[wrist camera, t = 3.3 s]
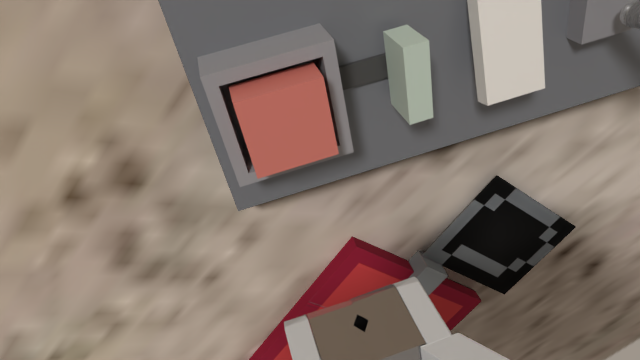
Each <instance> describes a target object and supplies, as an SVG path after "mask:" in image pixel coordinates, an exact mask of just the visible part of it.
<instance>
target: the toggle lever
mask: <svg viewBox="0 0 640 360" xmlns="http://www.w3.org/2000/svg"><path fill="white" fill-rule="evenodd" d="M620 20H621V22H622V23H623V24H624V25H625V26H628V27H632V28H637V29H640V1H633V2H630V3H628V4H626V5H625V6H624V7H623V8H622V10H621V12H620Z"/></svg>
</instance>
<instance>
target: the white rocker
mask: <svg viewBox="0 0 640 360" xmlns="http://www.w3.org/2000/svg"><path fill="white" fill-rule="evenodd" d="M467 3H468V13H469V22H470V32H471V41H472V51H473V60H474V69H475V79H476V88H477V98H478V102H480V103H482V104H485V105H487V106H489V105H492V104H495V103H498V102H502V101H505V100H508V99H511V98H515V97H518V96H521V95H525V94H528V93H531V92H534V91H538V90H541V89H544V88H545V74H544V52H543V30H542V8H541V0H467Z"/></svg>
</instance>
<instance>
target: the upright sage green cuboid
mask: <svg viewBox="0 0 640 360" xmlns="http://www.w3.org/2000/svg"><path fill="white" fill-rule="evenodd" d="M383 36H384V45H385V53H386V62H387V71H388V80H389V89H390V98H391V104H392V105H393V106H394V108H395V109H396V110H397V111H398V112H399V113H400V114H401V115H402V117H403V118H404V119H405V120H406V121H407V122H408V123H409V125H411V124H414V123H418V122H421V121H424V120H427V119H431V118H433V102H432V84H431V66H430V48H429V40H428V39H427V38H425V37H424V36H422V35H421V34H420V33H418V32H417V31H415V30H414V29H413V28H411V27H410V26H408V25H404V26H400V27H397V28H393V29H389V30H386V31H383Z"/></svg>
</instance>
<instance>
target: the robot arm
mask: <svg viewBox="0 0 640 360" xmlns="http://www.w3.org/2000/svg"><path fill="white" fill-rule="evenodd" d="M307 316H308V318H307ZM308 320H309V321H308ZM309 323H310V324H309ZM310 326H311V327H310ZM284 329H285V333H286V337H287V340H288V344H289V348H290V352H291V356H292V360H510V359H508V358H506V357H504V356H502V355H500V354H499V353H497V352H495V351H493V350H491V349H489V348H487V347H485V346H483V345H482V344H480V343H478V342H476V341H474V340H472V339H470V338H468V337H467V336H465V335H463V334H461V333H455V334H452V333H451V332H450V330H449V329H448V327H447V325H446V324H445V322H444V320H443V319H442V317H441V316H440V314H439V312H438V311H437V309H436V308H435V306H434V304H433V303H432V301H431V299H430V298H429V296H428V295H427V293H426V291H425V290H424V288H423V286H422V285H421V283H420V282H419V280H418V279H417V278H416V277H411V278H408V279H405V280H402V281H400V282H397V283H394V284H393V285H392V284H390V285H387V286H384V287H382V288H379V289H376V290H373V291H371V292H368V293H365V294H362V295H360V296H357V297H354V298H352V299H350V300H349V301H345V302H342V303H339V304H336V305H333V306H330V307H327V308H324V309H321V310H318V311H314V312H311V313H308V314H307V315H306V314H305V315H303V316H300V317H297V318H294V319H291V320H288V321H285V322H284ZM311 329H312V330H311ZM312 332H313V333H312Z"/></svg>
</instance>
